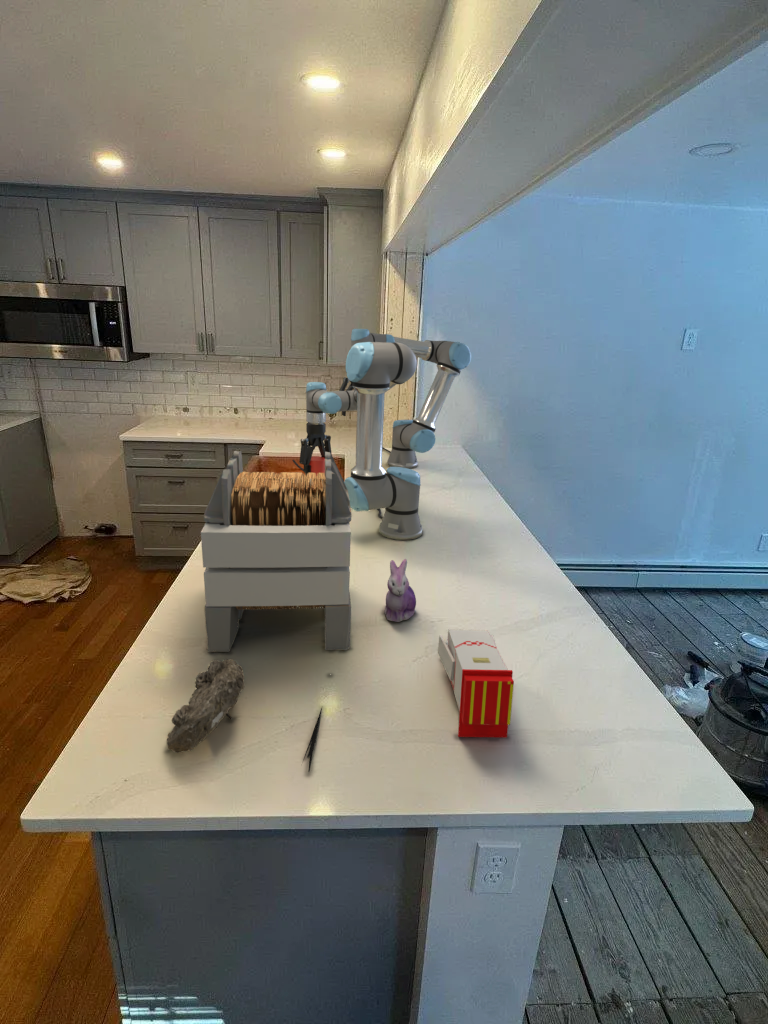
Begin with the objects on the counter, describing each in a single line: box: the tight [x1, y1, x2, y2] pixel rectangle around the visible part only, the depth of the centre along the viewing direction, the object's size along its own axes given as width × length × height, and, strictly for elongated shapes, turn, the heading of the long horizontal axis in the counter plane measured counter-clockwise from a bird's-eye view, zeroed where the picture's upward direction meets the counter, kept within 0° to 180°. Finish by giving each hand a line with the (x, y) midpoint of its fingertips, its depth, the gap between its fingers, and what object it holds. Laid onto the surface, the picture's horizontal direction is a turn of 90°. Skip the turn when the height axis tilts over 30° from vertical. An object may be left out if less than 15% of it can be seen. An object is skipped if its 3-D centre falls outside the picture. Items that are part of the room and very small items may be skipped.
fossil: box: [166, 658, 245, 754], centre depth 106 cm, size 22×10×15 cm
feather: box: [301, 673, 332, 771], centre depth 108 cm, size 2×28×2 cm
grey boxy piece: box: [200, 450, 353, 653], centre depth 138 cm, size 34×33×41 cm
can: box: [309, 455, 325, 476], centre depth 228 cm, size 8×8×11 cm
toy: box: [437, 628, 515, 738], centre depth 117 cm, size 12×13×30 cm
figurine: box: [384, 558, 417, 623], centre depth 145 cm, size 9×10×15 cm
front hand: (315, 478), depth 229 cm, fingers closed on can, 8 cm apart
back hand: (358, 415), depth 253 cm, fingers open, 13 cm apart
